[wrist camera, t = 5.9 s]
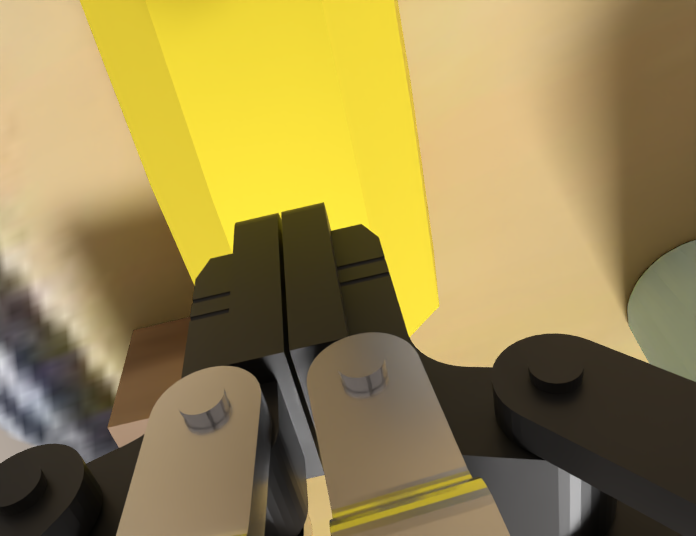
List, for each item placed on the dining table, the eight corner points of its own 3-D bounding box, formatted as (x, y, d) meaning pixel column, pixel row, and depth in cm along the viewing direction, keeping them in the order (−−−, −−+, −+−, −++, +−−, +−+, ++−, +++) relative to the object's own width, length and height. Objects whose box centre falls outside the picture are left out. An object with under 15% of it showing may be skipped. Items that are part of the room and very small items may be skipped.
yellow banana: (338, -317, 15) (20, -239, 15) (384, -414, 10) (-116, -293, 10) (434, 292, 25) (239, 338, 25) (484, 419, 20) (234, 477, 20)
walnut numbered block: (133, 328, 24) (106, 433, 20) (264, 297, 24) (265, 396, 20) (179, 421, 27) (163, 531, 23) (297, 393, 27) (304, 499, 23)
